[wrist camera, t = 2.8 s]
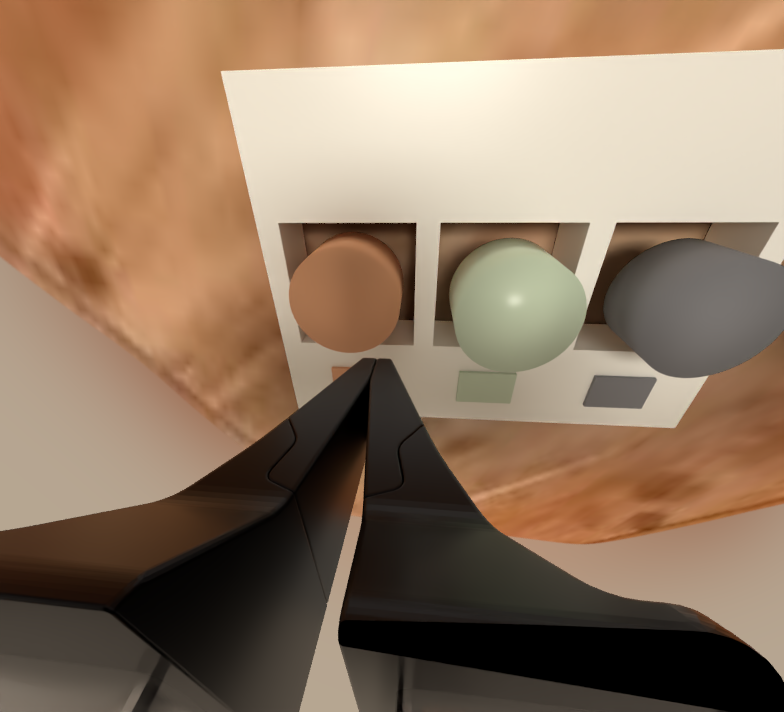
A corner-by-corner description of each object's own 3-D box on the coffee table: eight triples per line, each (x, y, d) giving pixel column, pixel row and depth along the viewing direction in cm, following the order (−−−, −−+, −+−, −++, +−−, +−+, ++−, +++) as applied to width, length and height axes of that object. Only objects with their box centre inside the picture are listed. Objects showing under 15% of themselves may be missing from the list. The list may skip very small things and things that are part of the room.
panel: (818, 66, 12) (931, 41, 9) (644, 394, 21) (677, 430, 18) (257, 86, 14) (217, 70, 11) (313, 382, 22) (298, 413, 20)
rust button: (403, 231, 15) (399, 248, 12) (403, 324, 17) (399, 354, 15) (302, 231, 15) (278, 247, 13) (316, 323, 18) (299, 351, 15)
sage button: (570, 237, 13) (606, 258, 11) (542, 338, 16) (566, 374, 13) (453, 237, 14) (461, 257, 11) (445, 336, 16) (449, 370, 14)
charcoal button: (753, 238, 13) (835, 259, 10) (693, 342, 15) (747, 380, 13) (626, 237, 13) (675, 258, 10) (589, 339, 16) (621, 375, 13)
